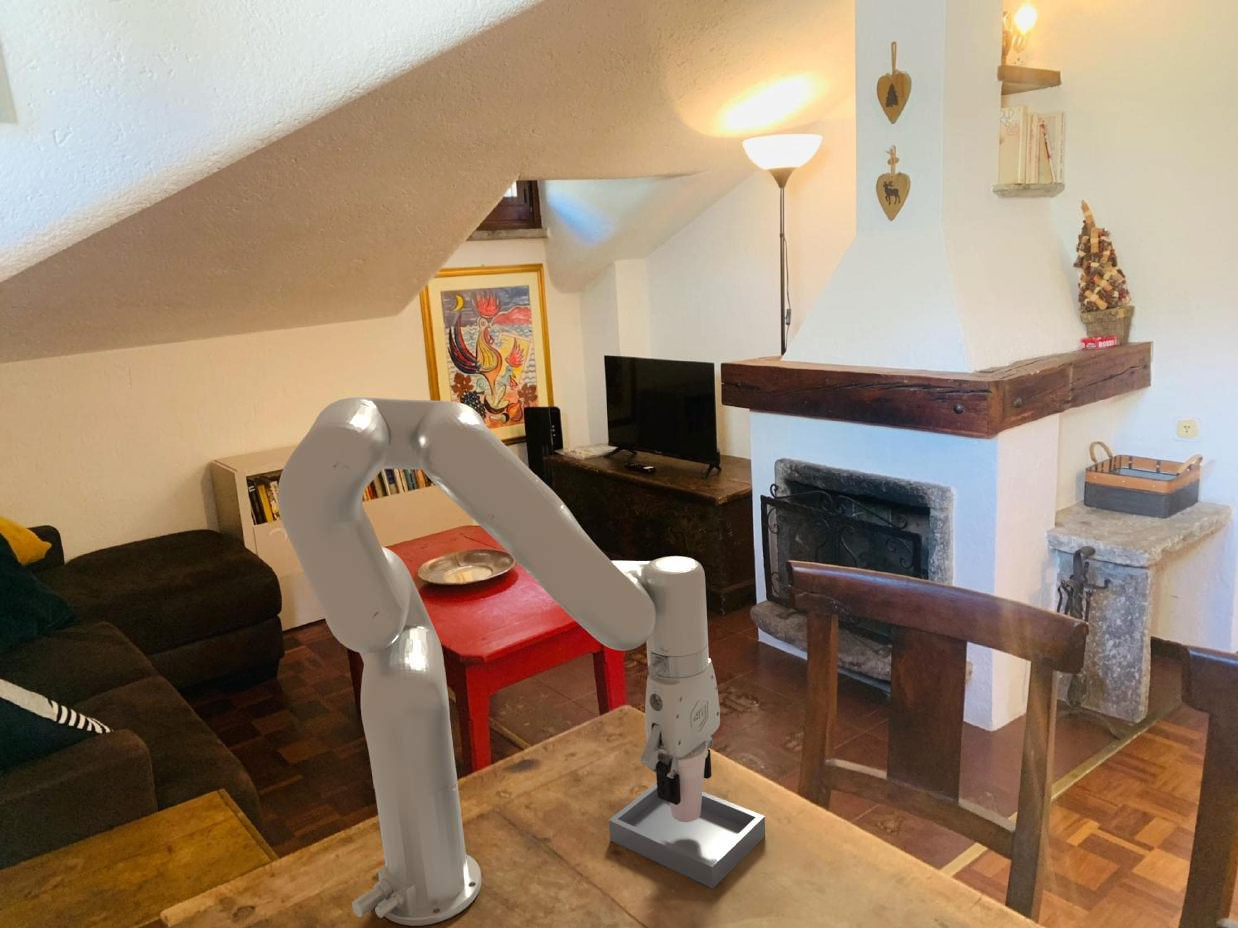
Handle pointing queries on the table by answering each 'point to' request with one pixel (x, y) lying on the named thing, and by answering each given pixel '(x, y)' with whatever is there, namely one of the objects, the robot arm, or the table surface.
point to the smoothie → (690, 783)
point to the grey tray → (689, 835)
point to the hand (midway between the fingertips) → (685, 785)
